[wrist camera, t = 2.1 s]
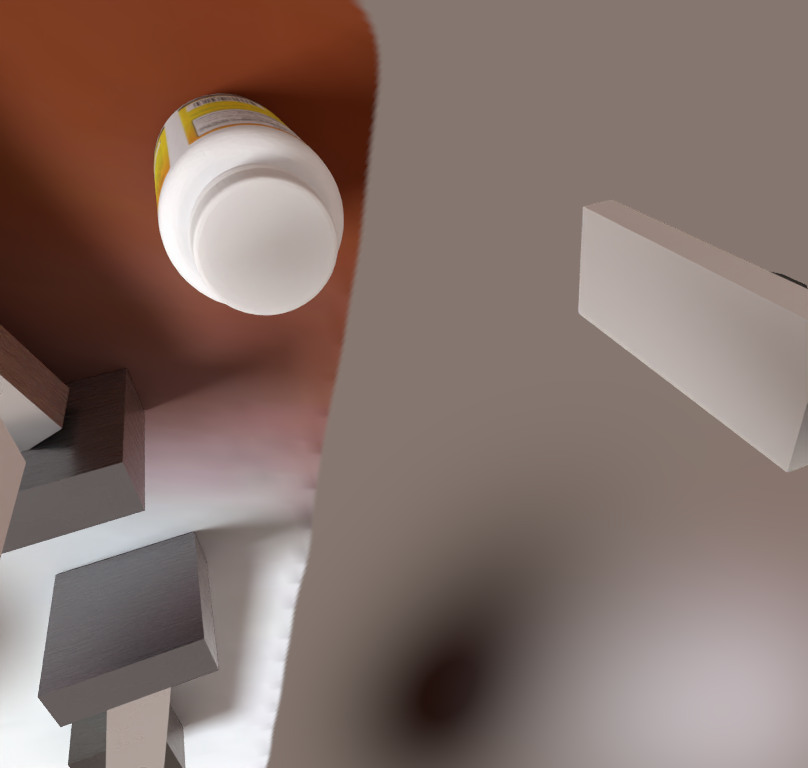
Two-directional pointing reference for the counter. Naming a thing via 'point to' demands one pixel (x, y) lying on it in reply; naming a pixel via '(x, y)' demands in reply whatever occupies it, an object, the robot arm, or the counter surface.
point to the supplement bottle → (245, 205)
